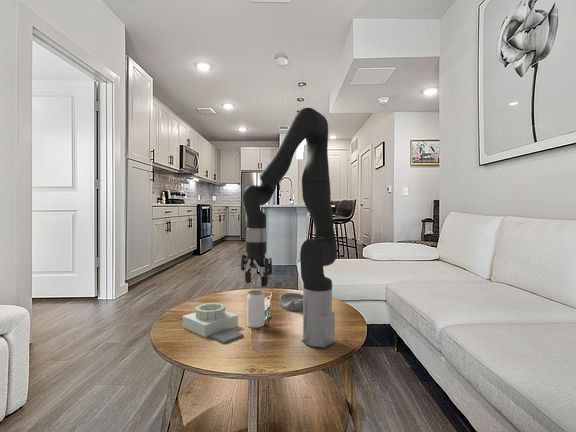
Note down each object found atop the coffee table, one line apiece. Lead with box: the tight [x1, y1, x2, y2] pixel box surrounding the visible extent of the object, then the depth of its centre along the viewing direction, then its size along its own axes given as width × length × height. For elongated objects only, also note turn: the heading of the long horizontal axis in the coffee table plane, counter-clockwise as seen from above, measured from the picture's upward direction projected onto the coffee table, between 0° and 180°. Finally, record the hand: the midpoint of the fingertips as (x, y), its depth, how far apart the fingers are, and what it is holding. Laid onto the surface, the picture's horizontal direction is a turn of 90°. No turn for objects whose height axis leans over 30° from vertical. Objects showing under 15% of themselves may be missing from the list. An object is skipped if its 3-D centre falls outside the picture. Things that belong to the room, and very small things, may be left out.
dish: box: [279, 292, 303, 312], centre depth 137 cm, size 14×14×5 cm
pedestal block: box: [182, 302, 239, 338], centre depth 113 cm, size 14×14×7 cm
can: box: [246, 290, 266, 329], centre depth 115 cm, size 6×6×12 cm
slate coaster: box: [208, 328, 245, 345], centre depth 103 cm, size 8×8×1 cm
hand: (255, 284), depth 115 cm, fingers open, 8 cm apart
